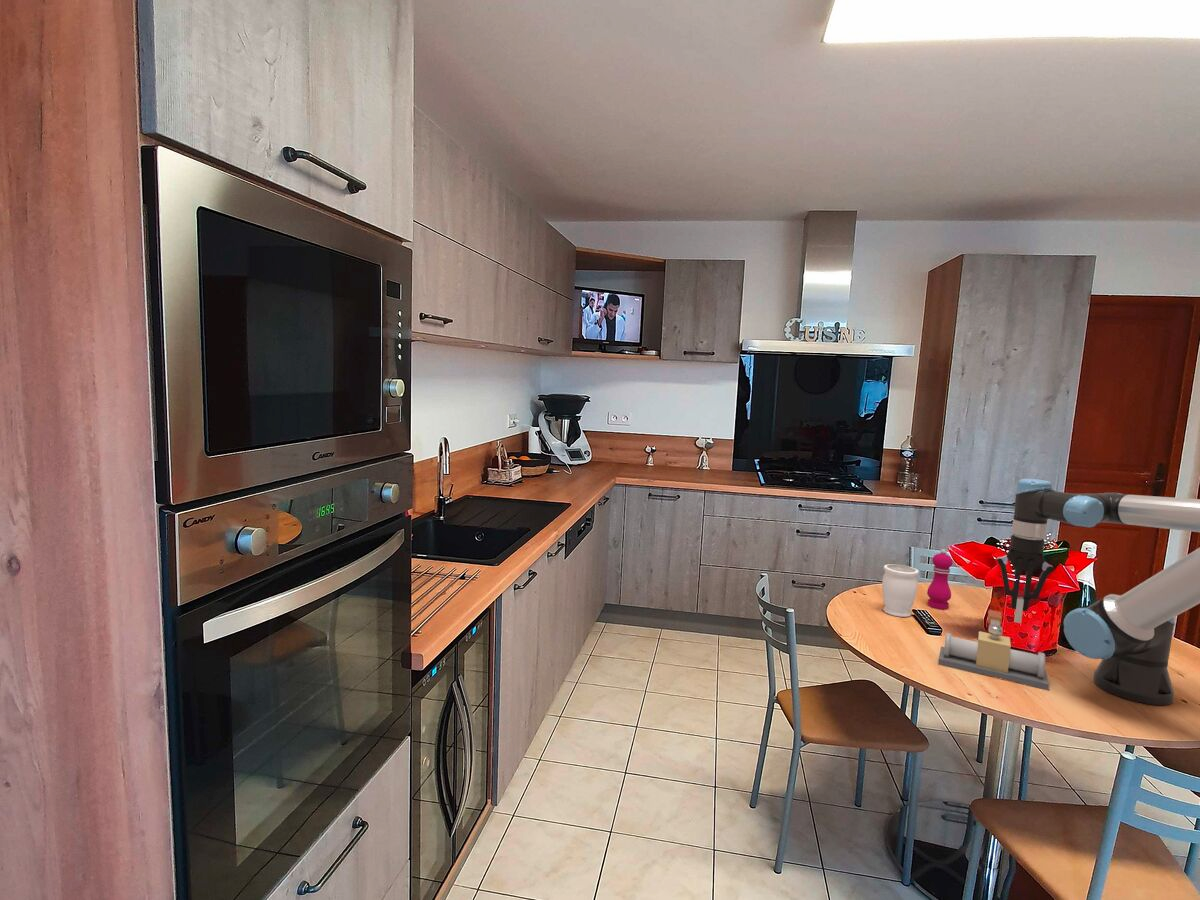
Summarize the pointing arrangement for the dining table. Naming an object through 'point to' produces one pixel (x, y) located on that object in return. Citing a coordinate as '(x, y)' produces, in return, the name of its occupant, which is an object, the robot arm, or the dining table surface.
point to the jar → (899, 589)
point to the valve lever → (995, 622)
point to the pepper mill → (940, 582)
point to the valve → (994, 659)
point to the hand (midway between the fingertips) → (1017, 621)
